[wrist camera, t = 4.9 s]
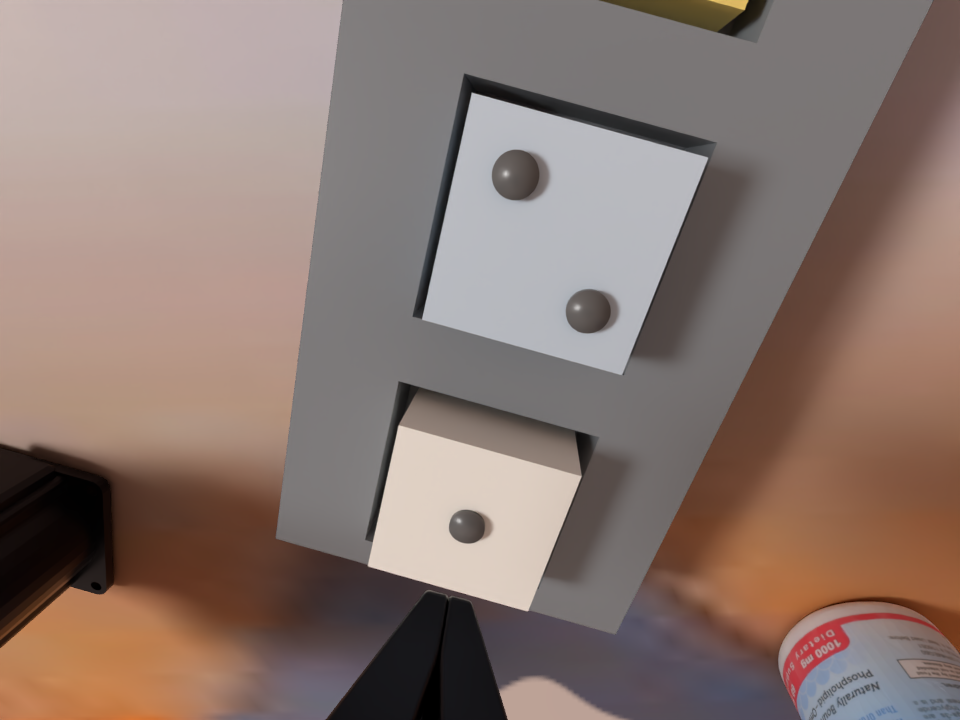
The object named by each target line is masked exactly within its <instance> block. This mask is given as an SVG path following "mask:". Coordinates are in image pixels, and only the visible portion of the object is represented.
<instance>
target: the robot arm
mask: <svg viewBox="0 0 960 720" xmlns="http://www.w3.org/2000/svg"><path fill="white" fill-rule="evenodd" d="M112 585H113V556H112V526H111V497H110V486H109V483H108V482H107V481H106V480H105V479H104V478H103V477H100V476H98V475H94V474H91V473H87V472H84V471H80V470H76V469H73V468H69V467H66V466H62V465H59V464H55V463H52V462H48V461H45V460H41V459H37V458H34V457H30V456H27V455H23V454H20V453H16V452H13V451H9V450H6V449H2V448H0V648H1V647H2V646H3V645H4V644H6V643H7V642H8V641H9V640H10V639H11V638H12V637H14V636H15V635H16V634H17V633H18V632H19V631H20V630H21V629H23V628H24V627H25V626H26V625H27V624H28V623H29V622H30V621H32V620H33V619H34V618H35V617H36V616H37V615H38V614H40V613H41V612H42V611H43V610H44V609H45V608H46V607H47V606H49V605H50V604H51V603H52V602H53V601H54V600H55V599H56V598H58V597H59V596H60V595H61V594H62V593H63V592H64V591H66V590H67V589H68V588H69V587H74V588H77V589H81V590H84V591H88V592H91V593H95V594H104V593H105V592H106V591H107V590H108V589H109V588H110V587H111V586H112ZM326 720H508V719H507V716H506V713H505V709H504V706H503V703H502V699H501V696H500V693H499V689H498V686H497V683H496V680H495V676H494V673H493V670H492V666H491V663H490V660H489V657H488V653H487V650H486V647H485V643H484V640H483V637H482V633H481V630H480V627H479V624H478V620H477V617H476V614H475V610H474V607H473V604H472V602H471V601H470V600H468V599H464V598H460V597H456V596H450V597H449V598H448V596H447V595H446V594H444V593H440V592H436V591H432V590H427V591H426V592H424V594H423V595H422V596H421V597H420V599H419V600H418V601H417V603H416V604H415V605H414V606H413V608H412V609H411V610H410V612H409V613H408V614H407V616H406V617H405V618H404V619H403V621H402V622H401V623H400V625H399V626H398V627H397V628H396V630H395V631H394V632H393V634H392V635H391V636H390V637H389V639H388V640H387V641H386V643H385V644H384V645H383V647H382V648H381V649H380V650H379V652H378V653H377V654H376V656H375V657H374V658H373V659H372V661H371V662H370V663H369V665H368V666H367V667H366V668H365V670H364V671H363V672H362V674H361V675H360V676H359V678H358V679H357V680H356V681H355V683H354V684H353V685H352V687H351V688H350V689H349V690H348V692H347V693H346V694H345V696H344V697H343V698H342V699H341V701H340V702H339V703H338V705H337V706H336V707H335V708H334V710H333V711H332V712H331V714H330V715H329V716H328V718H327V719H326Z"/></svg>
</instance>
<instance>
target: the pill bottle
mask: <svg viewBox="0 0 960 720" xmlns="http://www.w3.org/2000/svg"><path fill="white" fill-rule="evenodd" d="M778 663H779V670H780V674H781V677H782V679H783V682H784V684H785V686H786V688H787V690H788V693H789V695H790V697H791V699H792V701H793V703H794V705H795V707H796V709H797V711H798V713H799V715H800V718H801V719H802V720H960V653H959V652H958V651H957V649H956V648H955V647H954V646H953V645H952V644H951V643H950V641H949V640H948V639H947V638H946V637H945V636H944V635H943V634H942V633H941V632H940V631H939V629H938V628H937V627H936V626H935V625H934V624H933V623H932V622H930V621H929V620H928V619H927V618H925V617H924V616H922V615H921V614H919V613H917V612H915V611H913V610H911V609H909V608H906V607H903V606H900V605H896V604H891V603H885V602H850V603H842V604H837V605H832V606H829V607H826V608H822V609H820V610H817V611H815V612H813V613H811V614H809V615H808V616H806V617H805V618H803V619H802V620H800V621H799V622H798V623H797V624H796V625H795V626H794V627H793V628H792V629H791V630H790V631H789V633H788V634H787V635H786V637H785V638H784V640H783V643H782V645H781V648H780V651H779V658H778Z"/></svg>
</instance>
